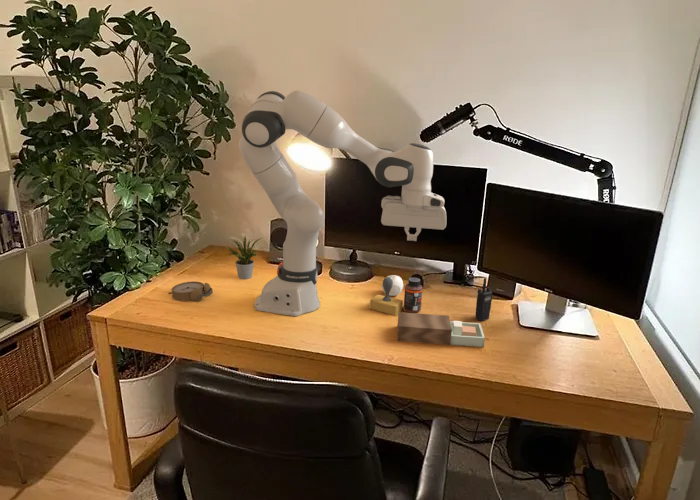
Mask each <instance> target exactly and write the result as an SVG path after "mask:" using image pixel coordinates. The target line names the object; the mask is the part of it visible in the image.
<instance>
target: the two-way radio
mask: <svg viewBox="0 0 700 500" xmlns="http://www.w3.org/2000/svg"><path fill="white" fill-rule="evenodd" d="M486 286H487V277H484V278H483V283H482V289H481V288H478V290H477V296H476V303H475V304H476V307H475V316H474V317H475V320H477V321H480V322H482V321H486V320H488V319H490V313H491V309H492V301H493V291H492V290H491V287H490V286H487V287H486Z"/></svg>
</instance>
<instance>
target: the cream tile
mask: <svg viewBox="0 0 700 500" xmlns="http://www.w3.org/2000/svg"><path fill="white" fill-rule="evenodd" d="M452 322H453V328H452V332H453V335H459V336H461V335H462V322H463V321H461V320H452Z"/></svg>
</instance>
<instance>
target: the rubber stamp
mask: <svg viewBox="0 0 700 500" xmlns="http://www.w3.org/2000/svg"><path fill="white" fill-rule="evenodd" d="M382 285H383V288H384V291H385V292H384V291H383V292H384V295H383V294H382V295H381V294H376V295H374V296H373V297H372V298H371V299H370V300H369V310H372V311H376V312H380V313H384V314H388V315H392V316H398V312H403V307H404V300H402V299H399V298H393V297H392V296H390V295H389V292H390V290H391V288H392V285H393V281H392V279H391V278H390V277H387V276H386V277H385V278H384V279H383V280H382Z"/></svg>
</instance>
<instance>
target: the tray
mask: <svg viewBox="0 0 700 500" xmlns="http://www.w3.org/2000/svg"><path fill="white" fill-rule="evenodd" d="M461 322H462V326H470V327H475V329H476V337H474V336H462V335H461V336H459V335H453V332H452V334H451V344H450V346H460V347H461V346H462V347H463V346H465V347H476V348H479V347H480V348H484V347H485V340H486V337H485V334H484V331H483V327H482V324H481V323H479V322H464V321H461ZM450 323H451V328H453V320H452V321H451V320H450Z"/></svg>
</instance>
